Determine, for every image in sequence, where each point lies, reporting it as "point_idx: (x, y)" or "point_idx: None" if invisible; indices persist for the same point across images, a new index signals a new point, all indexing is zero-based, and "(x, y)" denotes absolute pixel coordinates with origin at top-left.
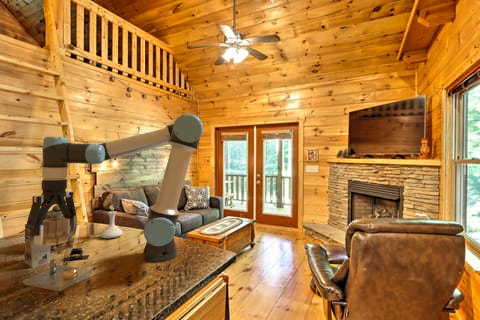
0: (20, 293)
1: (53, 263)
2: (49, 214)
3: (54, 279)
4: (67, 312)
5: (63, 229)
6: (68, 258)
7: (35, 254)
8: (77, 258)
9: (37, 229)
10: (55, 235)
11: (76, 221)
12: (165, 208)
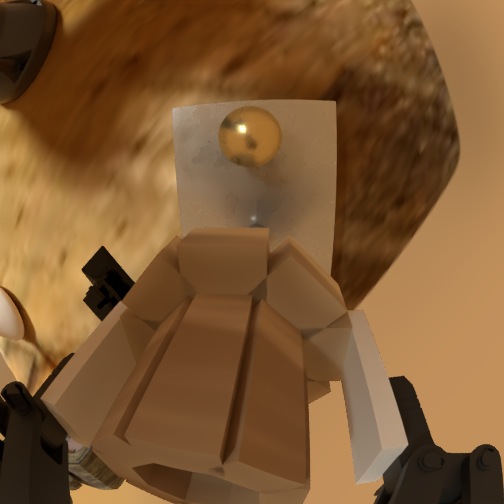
0: (376, 230)
1: None
2: (95, 480)
3: (294, 180)
4: (402, 3)
5: (122, 368)
6: None
7: None
8: (117, 279)
9: (415, 423)
10: (250, 319)
11: None
12: None
